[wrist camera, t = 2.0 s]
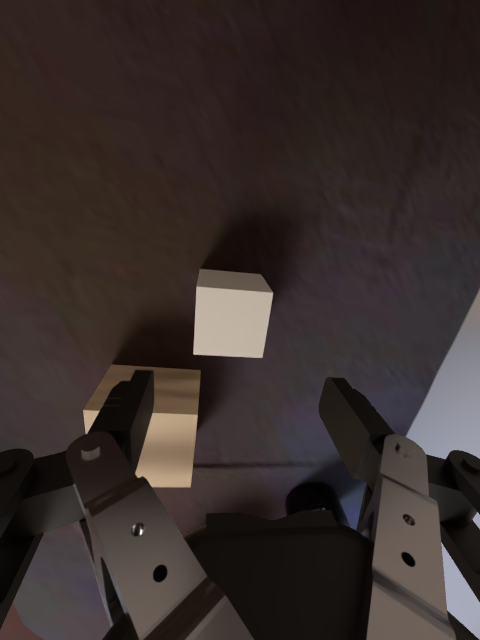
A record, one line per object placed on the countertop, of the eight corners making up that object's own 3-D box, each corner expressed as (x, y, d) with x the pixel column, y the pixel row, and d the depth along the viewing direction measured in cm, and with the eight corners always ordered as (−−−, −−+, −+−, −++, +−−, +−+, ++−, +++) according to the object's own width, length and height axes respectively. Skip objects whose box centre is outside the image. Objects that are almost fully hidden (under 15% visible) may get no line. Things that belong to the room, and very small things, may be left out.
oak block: (112, 363, 25) (83, 410, 19) (200, 369, 26) (197, 414, 20) (115, 430, 28) (91, 486, 22) (194, 432, 29) (190, 487, 23)
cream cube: (200, 268, 22) (196, 286, 17) (261, 274, 22) (273, 292, 18) (196, 325, 24) (193, 354, 19) (253, 328, 24) (262, 357, 20)
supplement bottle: (300, 475, 33) (345, 612, 22) (345, 487, 35) (407, 619, 24) (273, 510, 35) (301, 650, 24) (317, 519, 37) (361, 654, 26)
